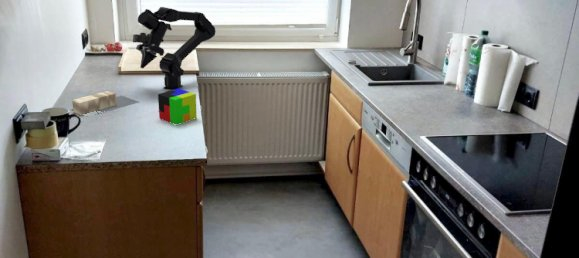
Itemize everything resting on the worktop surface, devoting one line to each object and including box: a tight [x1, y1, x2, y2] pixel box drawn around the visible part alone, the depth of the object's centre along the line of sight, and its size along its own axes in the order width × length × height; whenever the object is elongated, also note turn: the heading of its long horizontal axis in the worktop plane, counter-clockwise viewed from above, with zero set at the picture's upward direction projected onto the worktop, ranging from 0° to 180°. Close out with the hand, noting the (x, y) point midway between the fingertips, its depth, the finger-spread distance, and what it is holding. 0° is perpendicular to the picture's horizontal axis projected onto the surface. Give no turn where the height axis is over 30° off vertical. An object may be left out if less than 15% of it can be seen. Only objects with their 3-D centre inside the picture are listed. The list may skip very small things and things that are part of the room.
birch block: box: [72, 90, 117, 116], centre depth 210 cm, size 5×5×16 cm
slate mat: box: [70, 95, 139, 113], centre depth 214 cm, size 24×12×1 cm, turn 143°
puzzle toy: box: [157, 88, 198, 125], centre depth 204 cm, size 10×10×10 cm
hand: (141, 67), depth 224 cm, fingers closed
